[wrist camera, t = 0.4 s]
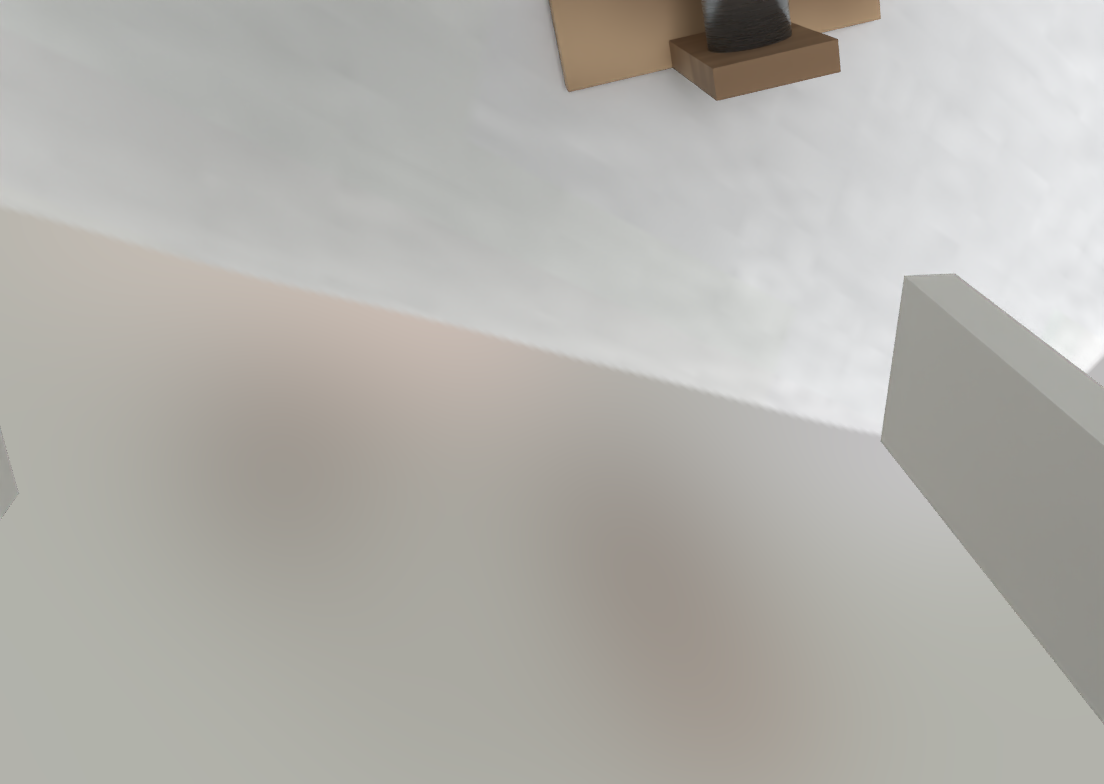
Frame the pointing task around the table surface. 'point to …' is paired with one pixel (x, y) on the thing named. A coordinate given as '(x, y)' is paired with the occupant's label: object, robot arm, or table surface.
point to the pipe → (745, 24)
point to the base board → (695, 44)
